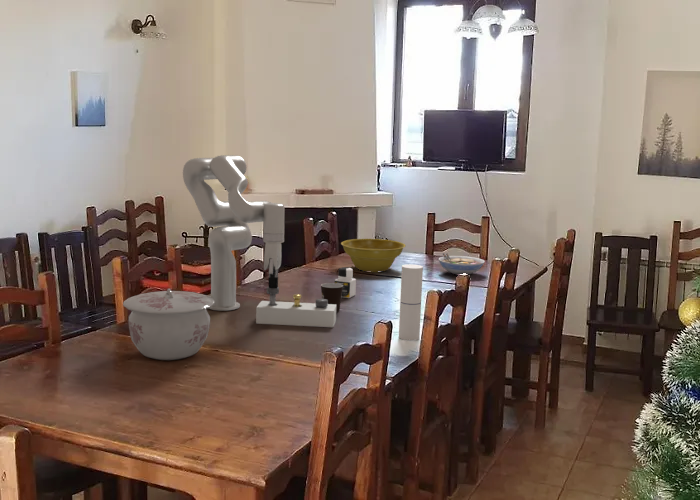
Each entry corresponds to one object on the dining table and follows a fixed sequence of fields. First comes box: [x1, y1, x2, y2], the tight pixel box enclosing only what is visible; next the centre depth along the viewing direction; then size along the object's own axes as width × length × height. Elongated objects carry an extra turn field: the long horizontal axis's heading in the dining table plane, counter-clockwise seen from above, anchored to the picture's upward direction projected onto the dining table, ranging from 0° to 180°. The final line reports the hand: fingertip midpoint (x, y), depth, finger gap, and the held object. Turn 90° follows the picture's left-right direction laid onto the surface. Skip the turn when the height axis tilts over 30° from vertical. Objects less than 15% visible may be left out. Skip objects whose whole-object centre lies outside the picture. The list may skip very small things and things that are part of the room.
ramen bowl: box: [438, 253, 486, 275], centre depth 376 cm, size 25×23×8 cm
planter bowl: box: [340, 238, 406, 273], centre depth 379 cm, size 32×32×13 cm
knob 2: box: [315, 298, 328, 308], centre depth 276 cm, size 4×4×8 cm
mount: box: [255, 300, 337, 328], centre depth 277 cm, size 28×10×6 cm, turn 86°
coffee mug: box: [320, 282, 343, 313], centre depth 297 cm, size 12×9×10 cm
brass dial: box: [292, 293, 302, 307], centre depth 276 cm, size 3×3×5 cm
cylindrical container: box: [398, 263, 424, 341], centre depth 260 cm, size 7×7×25 cm
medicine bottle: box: [333, 266, 357, 299], centre depth 321 cm, size 7×7×12 cm
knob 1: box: [266, 286, 280, 306], centre depth 277 cm, size 4×4×8 cm
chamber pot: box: [122, 288, 215, 361], centre depth 234 cm, size 28×28×21 cm
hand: (273, 287), depth 276 cm, fingers closed
